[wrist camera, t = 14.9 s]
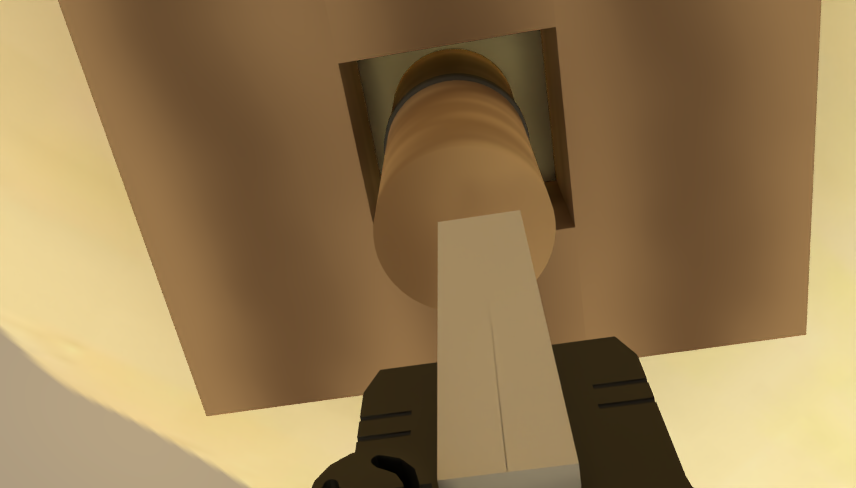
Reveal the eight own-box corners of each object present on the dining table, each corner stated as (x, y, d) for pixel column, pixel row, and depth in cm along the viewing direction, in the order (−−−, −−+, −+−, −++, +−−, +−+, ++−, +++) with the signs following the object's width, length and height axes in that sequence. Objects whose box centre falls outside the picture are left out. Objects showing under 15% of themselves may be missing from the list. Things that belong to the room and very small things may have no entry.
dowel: (507, 36, 25) (549, 128, 16) (521, 157, 27) (567, 302, 18) (380, 57, 25) (351, 159, 16) (402, 176, 27) (388, 327, 18)
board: (766, -220, 22) (831, -238, 18) (759, 276, 29) (805, 334, 25) (89, -92, 24) (27, -85, 20) (233, 351, 30) (206, 416, 27)
